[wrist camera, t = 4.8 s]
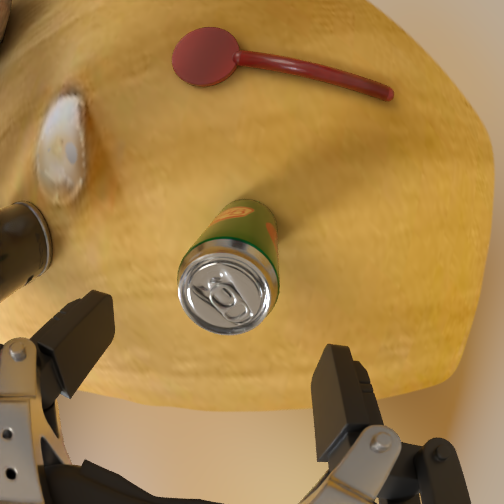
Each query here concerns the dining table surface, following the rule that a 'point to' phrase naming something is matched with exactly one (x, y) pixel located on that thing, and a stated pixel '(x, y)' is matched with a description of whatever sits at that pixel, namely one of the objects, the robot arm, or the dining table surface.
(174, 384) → the dining table surface
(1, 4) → the cooking pot
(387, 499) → the robot arm
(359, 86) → the spoon
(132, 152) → the dining table surface
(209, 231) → the soda can
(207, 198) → the dining table surface
